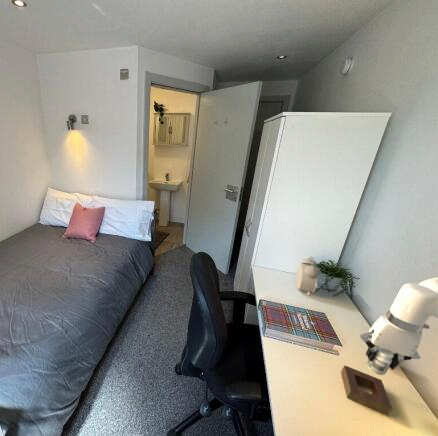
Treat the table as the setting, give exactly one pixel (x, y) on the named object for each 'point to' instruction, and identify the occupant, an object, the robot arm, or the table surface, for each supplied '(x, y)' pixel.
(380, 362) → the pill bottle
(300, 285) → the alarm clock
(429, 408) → the table surface
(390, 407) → the holder
